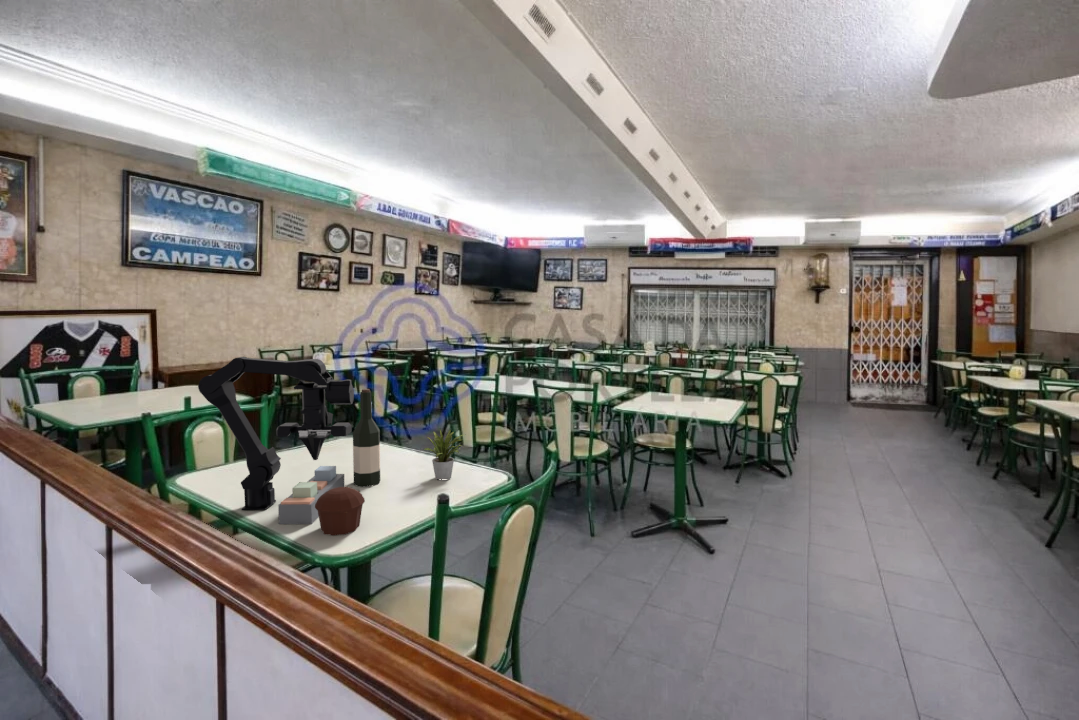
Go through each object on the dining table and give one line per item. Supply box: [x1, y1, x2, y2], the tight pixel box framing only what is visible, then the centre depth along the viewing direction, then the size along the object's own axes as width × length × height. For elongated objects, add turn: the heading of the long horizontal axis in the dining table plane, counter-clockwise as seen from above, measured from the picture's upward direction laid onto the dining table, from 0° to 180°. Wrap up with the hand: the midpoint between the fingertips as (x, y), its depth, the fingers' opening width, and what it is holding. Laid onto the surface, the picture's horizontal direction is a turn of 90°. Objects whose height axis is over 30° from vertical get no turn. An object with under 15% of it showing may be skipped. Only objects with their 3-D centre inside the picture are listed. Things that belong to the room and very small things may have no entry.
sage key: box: [292, 481, 317, 498], centre depth 137 cm, size 5×5×4 cm
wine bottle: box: [352, 388, 381, 488], centre depth 163 cm, size 8×8×30 cm
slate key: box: [314, 465, 337, 481], centre depth 152 cm, size 5×5×4 cm
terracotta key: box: [310, 481, 327, 490], centre depth 145 cm, size 5×5×4 cm
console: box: [277, 473, 346, 525], centre depth 144 cm, size 8×26×6 cm, turn 3°
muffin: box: [315, 486, 366, 537], centre depth 129 cm, size 12×11×10 cm
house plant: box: [423, 429, 466, 481], centre depth 168 cm, size 14×14×16 cm
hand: (315, 459), depth 144 cm, fingers closed
